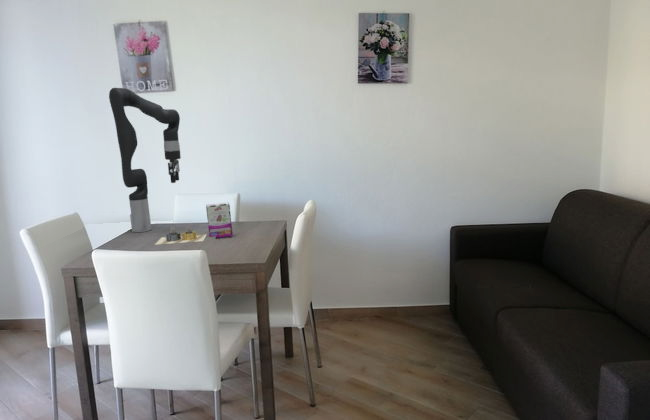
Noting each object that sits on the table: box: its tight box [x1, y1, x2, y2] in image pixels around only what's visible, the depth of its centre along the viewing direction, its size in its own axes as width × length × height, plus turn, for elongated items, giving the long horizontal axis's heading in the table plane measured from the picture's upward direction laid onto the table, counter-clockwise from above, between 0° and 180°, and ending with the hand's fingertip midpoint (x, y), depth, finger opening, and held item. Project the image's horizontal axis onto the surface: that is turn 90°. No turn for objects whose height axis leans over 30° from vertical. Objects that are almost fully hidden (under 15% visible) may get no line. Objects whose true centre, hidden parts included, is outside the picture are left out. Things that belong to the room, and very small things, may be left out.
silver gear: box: [165, 231, 182, 242], centre depth 222 cm, size 6×6×3 cm
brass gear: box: [181, 230, 198, 240], centre depth 223 cm, size 6×6×3 cm
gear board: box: [154, 225, 208, 246], centre depth 222 cm, size 22×14×7 cm, turn 96°
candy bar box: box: [205, 202, 233, 239], centre depth 227 cm, size 11×5×16 cm, turn 105°
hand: (175, 181), depth 238 cm, fingers open, 8 cm apart
